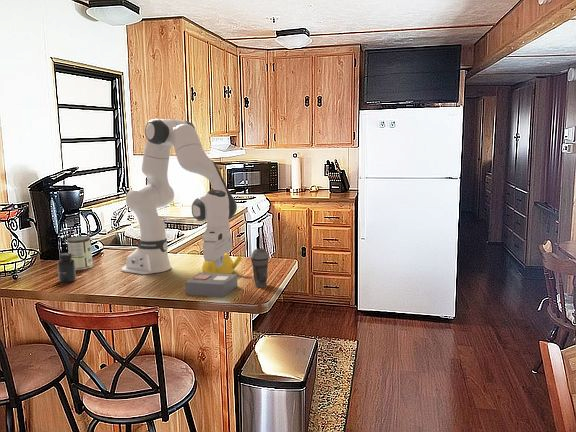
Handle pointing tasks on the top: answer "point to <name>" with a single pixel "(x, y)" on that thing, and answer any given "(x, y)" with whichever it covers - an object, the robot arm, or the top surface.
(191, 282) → the key console
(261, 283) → the beverage cup
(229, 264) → the teapot
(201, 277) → the terracotta key
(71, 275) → the supplement bottle
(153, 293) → the top surface
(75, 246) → the coffee can
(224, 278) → the white key
